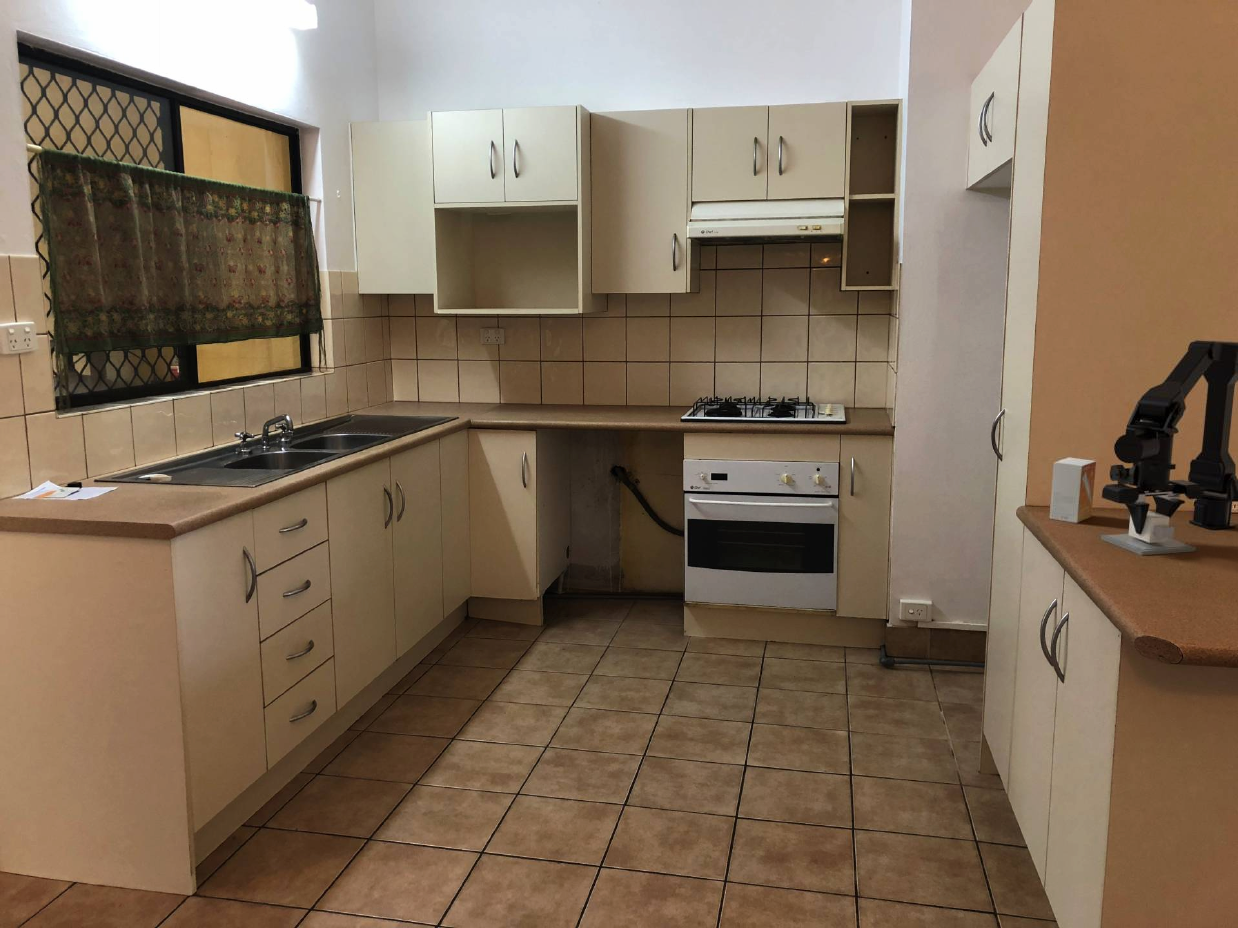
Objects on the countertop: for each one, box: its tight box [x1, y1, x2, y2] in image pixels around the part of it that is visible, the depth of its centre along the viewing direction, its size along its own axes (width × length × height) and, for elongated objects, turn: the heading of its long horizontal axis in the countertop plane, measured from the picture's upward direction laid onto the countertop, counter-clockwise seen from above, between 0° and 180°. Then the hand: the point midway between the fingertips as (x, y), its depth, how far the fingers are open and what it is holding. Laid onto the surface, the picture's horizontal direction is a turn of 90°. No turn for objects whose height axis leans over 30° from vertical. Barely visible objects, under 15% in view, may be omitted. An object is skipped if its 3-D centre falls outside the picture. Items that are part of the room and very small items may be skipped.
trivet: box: [1100, 533, 1196, 556], centre depth 200 cm, size 12×12×1 cm
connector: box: [1128, 509, 1175, 543], centre depth 199 cm, size 4×8×5 cm, turn 11°
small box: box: [1049, 456, 1097, 524], centre depth 221 cm, size 8×6×13 cm
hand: (1148, 533), depth 200 cm, fingers closed on connector, 4 cm apart
